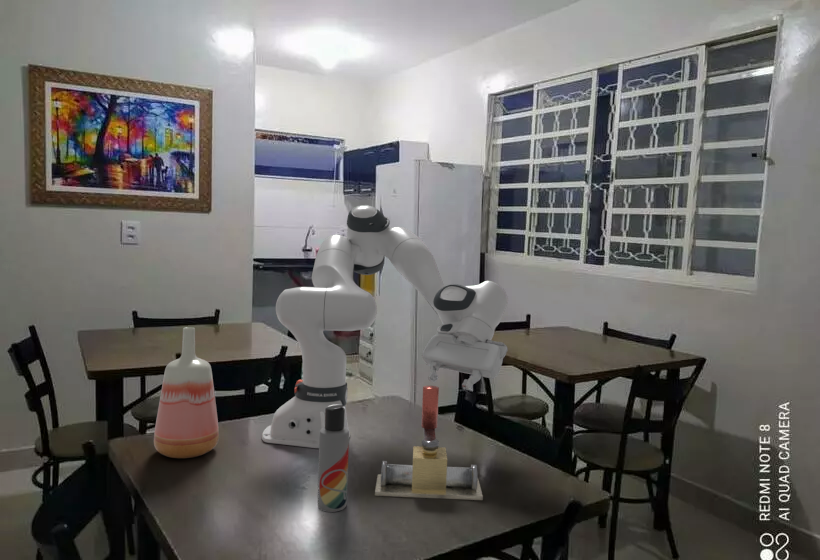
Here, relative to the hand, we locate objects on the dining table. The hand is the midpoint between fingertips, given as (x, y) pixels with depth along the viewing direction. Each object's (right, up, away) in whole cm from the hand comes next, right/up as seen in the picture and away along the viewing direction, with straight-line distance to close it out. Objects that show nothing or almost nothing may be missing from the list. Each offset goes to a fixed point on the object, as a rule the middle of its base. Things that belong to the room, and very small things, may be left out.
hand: (448, 384), depth 140 cm
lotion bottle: (-24, -20, -22) cm, 39 cm away
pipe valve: (-5, -20, -13) cm, 24 cm away
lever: (-5, -10, -8) cm, 14 cm away
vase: (-62, -17, +3) cm, 64 cm away
